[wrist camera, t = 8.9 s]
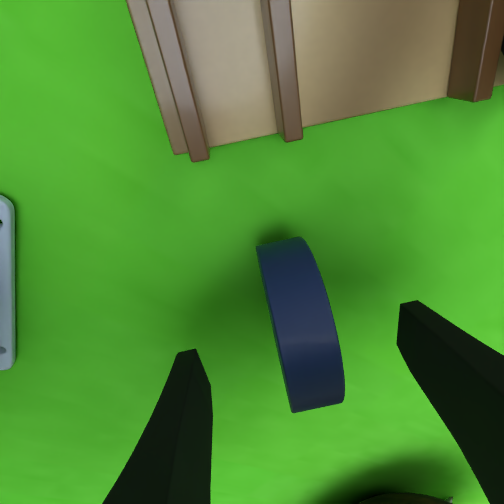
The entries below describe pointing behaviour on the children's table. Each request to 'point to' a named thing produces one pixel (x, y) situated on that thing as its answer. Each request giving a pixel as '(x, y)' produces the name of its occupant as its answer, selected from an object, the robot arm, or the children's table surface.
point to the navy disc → (302, 325)
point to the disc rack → (309, 62)
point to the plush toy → (405, 499)
